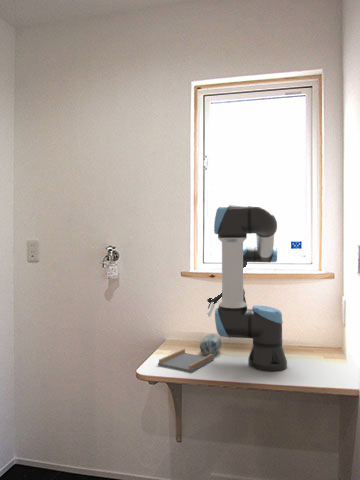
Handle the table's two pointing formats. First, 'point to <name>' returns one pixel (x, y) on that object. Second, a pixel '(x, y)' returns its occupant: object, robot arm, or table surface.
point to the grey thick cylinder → (210, 344)
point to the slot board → (185, 361)
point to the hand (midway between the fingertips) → (221, 316)
